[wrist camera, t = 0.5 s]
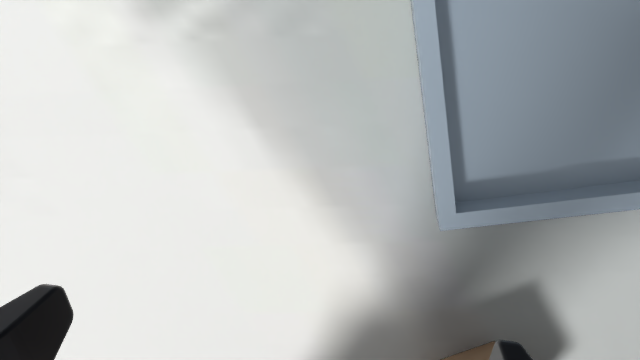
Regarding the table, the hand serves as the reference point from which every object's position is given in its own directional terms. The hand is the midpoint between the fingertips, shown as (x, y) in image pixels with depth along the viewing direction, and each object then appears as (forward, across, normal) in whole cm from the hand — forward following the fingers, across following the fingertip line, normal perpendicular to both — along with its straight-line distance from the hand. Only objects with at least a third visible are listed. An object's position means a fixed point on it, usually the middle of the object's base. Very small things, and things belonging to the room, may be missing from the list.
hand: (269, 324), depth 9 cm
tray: (+14, -10, -1) cm, 17 cm away
